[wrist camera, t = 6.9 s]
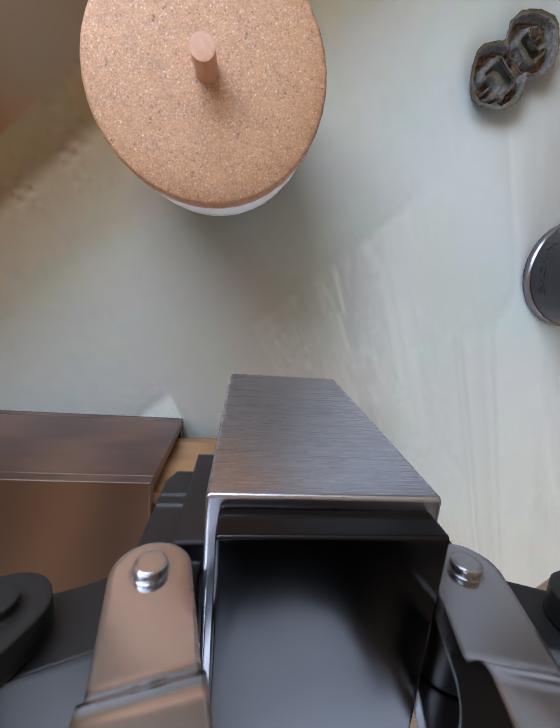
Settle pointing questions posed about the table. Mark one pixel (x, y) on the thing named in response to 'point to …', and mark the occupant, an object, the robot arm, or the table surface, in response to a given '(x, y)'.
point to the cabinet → (77, 490)
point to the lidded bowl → (206, 94)
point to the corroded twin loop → (515, 59)
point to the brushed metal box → (314, 563)
